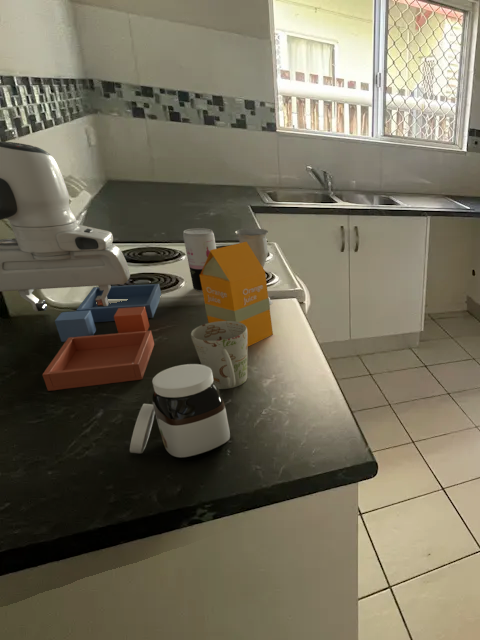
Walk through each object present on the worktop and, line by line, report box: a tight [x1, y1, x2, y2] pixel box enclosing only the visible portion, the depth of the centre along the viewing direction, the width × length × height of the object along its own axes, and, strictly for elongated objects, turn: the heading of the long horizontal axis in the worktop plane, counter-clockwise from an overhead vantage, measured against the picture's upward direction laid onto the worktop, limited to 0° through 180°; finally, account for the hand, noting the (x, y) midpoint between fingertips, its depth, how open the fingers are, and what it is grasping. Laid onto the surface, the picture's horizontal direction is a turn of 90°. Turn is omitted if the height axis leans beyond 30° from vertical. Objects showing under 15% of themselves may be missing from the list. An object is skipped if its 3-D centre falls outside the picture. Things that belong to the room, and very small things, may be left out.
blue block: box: [54, 310, 97, 343], centre depth 94 cm, size 4×4×4 cm
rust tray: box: [41, 330, 155, 392], centre depth 85 cm, size 13×15×3 cm
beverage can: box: [182, 227, 217, 293], centre depth 121 cm, size 7×7×15 cm
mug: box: [190, 321, 248, 390], centre depth 82 cm, size 8×13×10 cm, turn 40°
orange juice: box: [200, 242, 274, 348], centre depth 96 cm, size 8×9×20 cm
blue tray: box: [75, 283, 162, 323], centre depth 108 cm, size 13×15×3 cm
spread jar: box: [129, 363, 231, 461], centre depth 66 cm, size 12×11×12 cm
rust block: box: [114, 307, 150, 333], centre depth 98 cm, size 4×4×4 cm
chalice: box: [235, 227, 273, 306], centre depth 114 cm, size 7×7×18 cm
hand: (73, 307), depth 92 cm, fingers open, 8 cm apart
